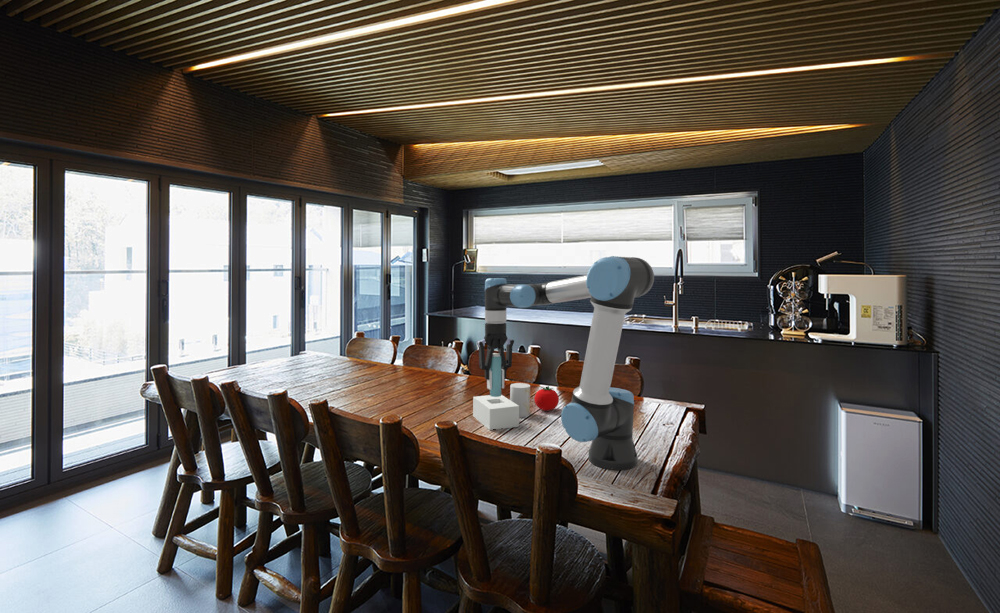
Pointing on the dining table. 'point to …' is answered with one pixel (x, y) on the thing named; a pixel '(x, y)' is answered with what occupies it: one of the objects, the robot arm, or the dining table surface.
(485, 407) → the socket
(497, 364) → the peg
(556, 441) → the dining table surface
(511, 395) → the white cylinder
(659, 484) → the dining table surface
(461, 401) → the dining table surface
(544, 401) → the tomato
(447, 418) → the dining table surface
